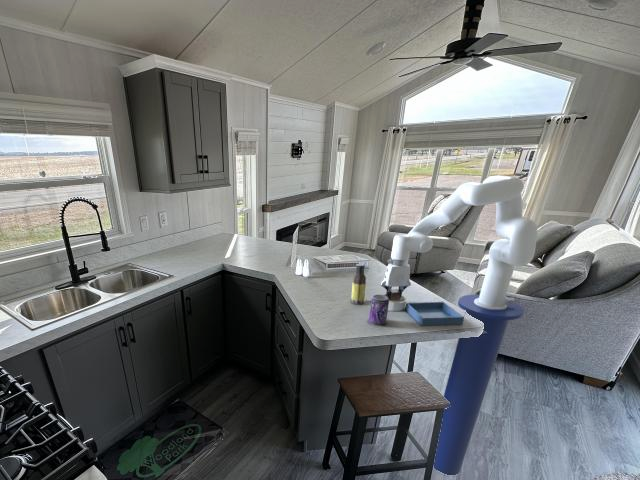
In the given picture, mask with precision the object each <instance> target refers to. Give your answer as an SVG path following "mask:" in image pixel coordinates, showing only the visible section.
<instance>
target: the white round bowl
mask: <svg viewBox="0 0 640 480" xmlns="http://www.w3.org/2000/svg"><path fill="white" fill-rule="evenodd" d="M382 295H385V296H386V293H383V294H382ZM388 300H389V299H388ZM406 303H407V297H405V296H403V295H402V296H401V298H400V299H399V300H389V306H388V311H390V312H401V311H403V310H405V306H406Z"/></svg>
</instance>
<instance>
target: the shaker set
mask: <svg viewBox="0 0 640 480" xmlns="http://www.w3.org/2000/svg"><path fill="white" fill-rule="evenodd" d="M295 275H297V276H301V275H302V276H303V277H305V278H307V279H308V278H311V277H312V276H313V275H314V274H313V270H312V266H311V263H310V260H309V259H305V260H304V264H303V260H302V259H300V258H298V259H297V263H296V269H295Z"/></svg>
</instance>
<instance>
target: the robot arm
mask: <svg viewBox="0 0 640 480" xmlns="http://www.w3.org/2000/svg"><path fill="white" fill-rule="evenodd" d="M524 186H525V185H524V182H523V180H522V179H521V178H519V177H515V176H507V175H490V176H488V177H486V178H485V179H484V180H483V182H475V181H474V182H472V181H471V182H470V181H469V182H464V183H462V184H460V185H459V186H458V187H457V188H456V189H455V190H454V191H453V192H452V194H451V195H450V196H449V197H448V198H447V199H446V200H445V201H444V202H443V203H442V204H441V205H440V206H439V207H438V209H436V210H435V211H434V212H431V213H430V214H429V215H427V216H425V217H424V218H422V219H420V220H419V222H417V223H416V224H415V225H414V226H413V228H412V229H411V230H410V231H409V232H408V233H407V234H405V233H401V234H400V233H399V234H395V235H394V237H393V242H392V248H391V255H390V258H389V259H387V260H386V262H387V263H388V265H387V267H386V270H385V273H384V278H383V280H382V281H381V282H380V283H379V285H380V286H381V287H382V288H384V289H385V290H386V292H385V294H386V296H387V297H388V299H389V300H390V298H391V289H393V288H395V287H397V288H398V289H397V290H398V291H399V292H400V298H401V296H403V292H404V291H405V290H406V289H407V288H409V287H410V286H411V285H412V283H411V281H410V278H411V265H410V264H409V261H410V256H411V255H410V254H411V252H413V253H427V252H429V251H430V250H432V248H433V246H434V241H433V239H432V238H431V237H430V236H428V235H429V234H430V233H431V232H432V231H435V229H437V228H440V227H443V226H447V225H450V224H452V223H454V222H455V221H457V220H458V218H459V217H460V216H461V215H463V214H464V212H465V211H466V210H467V209H468V208H470V206H475V207H480V206H487V205H492V204H495V209H496V210H495V211H496V212H495V223H494V224H495V225H494V230H495V233H496V234H497V235H498V236H500V237H502V238H499V239H497V240H495V241H494V242H493V243H492V244H491V245H490V247H489V251H488V264H487V267H486V271H485V275H484V278H483V282H482V285H481V289H480V292H479V295H480V296H479V298H477V299H475V300H474V303H475V304H476V305H477V306H479V307H481V308H485V309H489V310H504V309H506V308H507V305H506V303H507V302H514V303H515V302H516V299H515V298H514V297H508V296H507V293H508V290H509V286H510V283H511V280H512V277H513V273H514V267H518V268H520V267H525V266H527V265H528V264H530V263H531V262H532V261H533V259H534V257H535V253H536V247H537V239H538V226H537V223H536V221H534V220H533V219H531V218H528V217H524V216H523V196H522V195H521V194H522V192H523V191H524ZM400 298H399V299H400Z"/></svg>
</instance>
